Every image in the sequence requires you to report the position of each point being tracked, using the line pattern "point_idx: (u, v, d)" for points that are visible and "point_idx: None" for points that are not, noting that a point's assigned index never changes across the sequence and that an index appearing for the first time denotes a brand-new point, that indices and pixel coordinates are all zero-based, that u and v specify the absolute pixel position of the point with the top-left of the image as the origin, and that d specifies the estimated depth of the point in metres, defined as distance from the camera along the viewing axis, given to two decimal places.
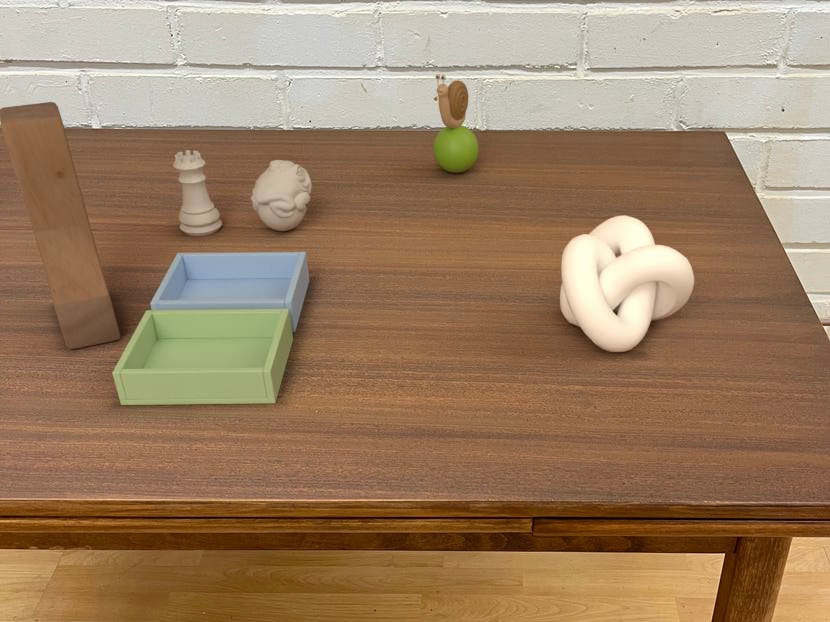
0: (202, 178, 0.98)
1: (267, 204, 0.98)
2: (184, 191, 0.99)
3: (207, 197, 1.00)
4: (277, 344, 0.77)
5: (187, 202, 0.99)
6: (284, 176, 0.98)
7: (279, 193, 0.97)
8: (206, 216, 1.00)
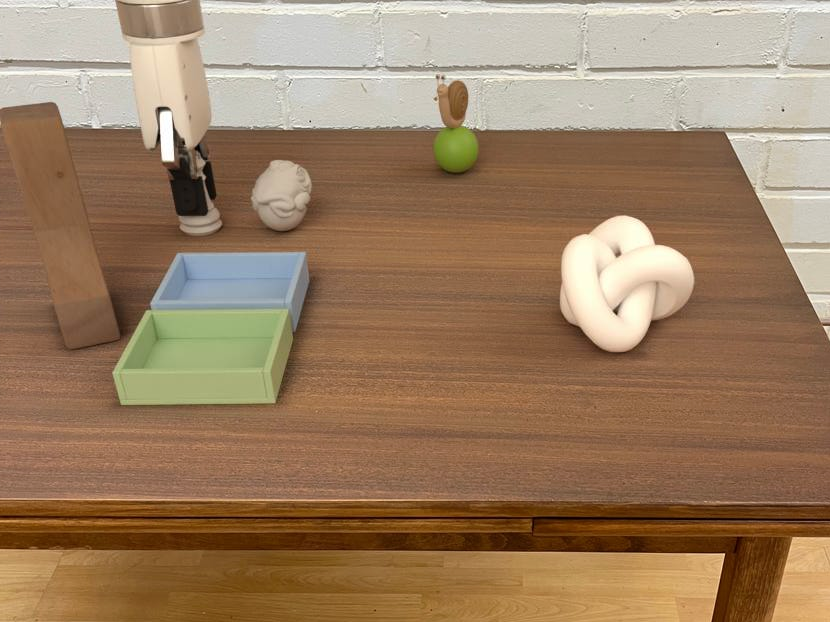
0: (202, 178, 0.98)
1: (267, 204, 0.98)
2: None
3: (207, 197, 1.00)
4: (277, 344, 0.77)
5: None
6: (284, 177, 0.98)
7: (279, 193, 0.97)
8: (206, 216, 1.00)
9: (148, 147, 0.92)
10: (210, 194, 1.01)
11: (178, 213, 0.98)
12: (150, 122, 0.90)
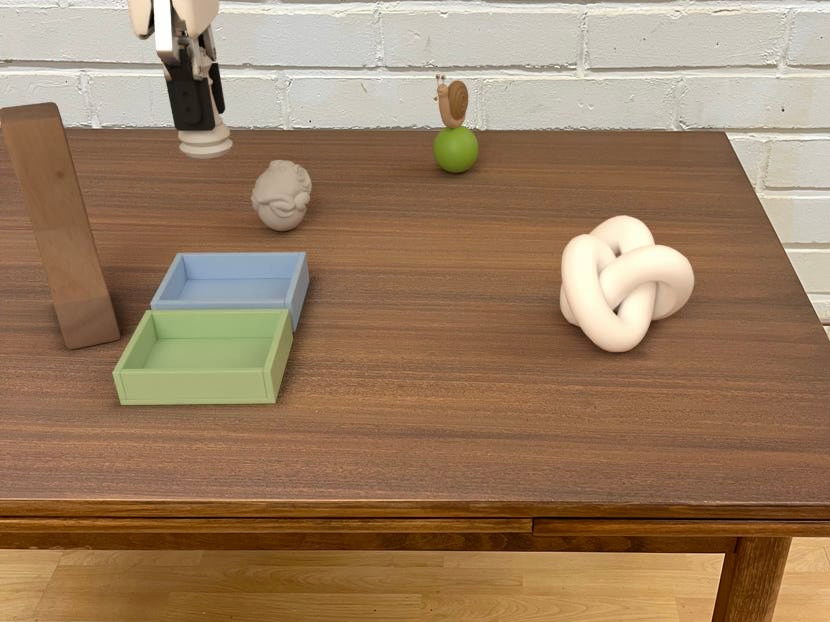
0: (208, 82, 0.77)
1: (267, 204, 0.98)
2: None
3: (215, 108, 0.79)
4: (277, 344, 0.77)
5: None
6: (284, 176, 0.98)
7: (279, 193, 0.97)
8: (212, 132, 0.79)
9: (138, 33, 0.71)
10: (217, 106, 0.80)
11: (177, 127, 0.77)
12: None
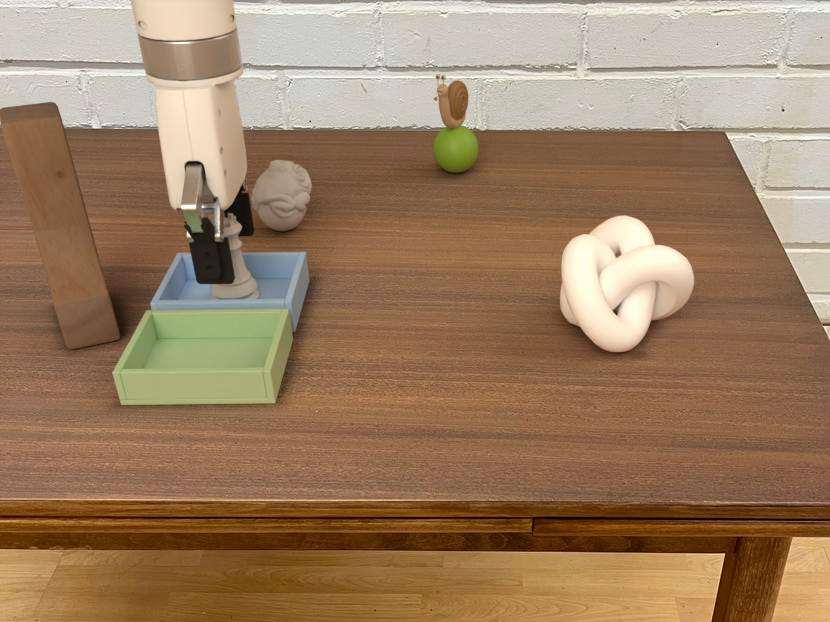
0: (238, 245, 0.84)
1: (267, 204, 0.98)
2: None
3: (243, 266, 0.86)
4: (277, 344, 0.77)
5: None
6: (284, 176, 0.98)
7: (279, 193, 0.97)
8: (241, 288, 0.86)
9: (175, 207, 0.77)
10: (247, 230, 0.88)
11: (198, 281, 0.81)
12: (178, 179, 0.76)
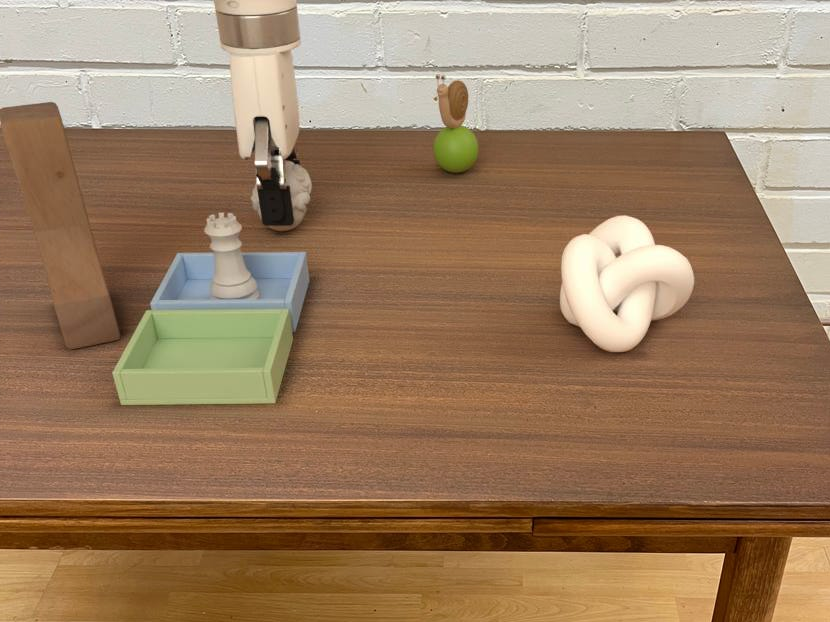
0: (238, 245, 0.84)
1: None
2: (217, 260, 0.85)
3: (243, 266, 0.86)
4: (277, 344, 0.77)
5: (220, 272, 0.85)
6: None
7: None
8: (241, 288, 0.86)
9: (243, 156, 0.93)
10: None
11: (264, 223, 0.98)
12: (247, 131, 0.91)
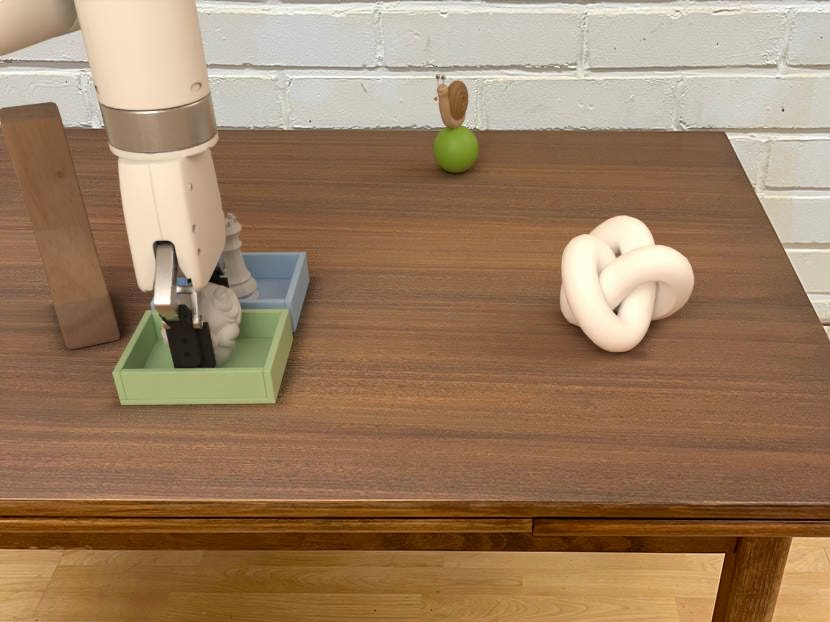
0: (238, 245, 0.84)
1: None
2: None
3: (243, 266, 0.86)
4: (277, 344, 0.77)
5: None
6: (203, 306, 0.74)
7: None
8: (241, 288, 0.86)
9: (143, 289, 0.69)
10: None
11: (176, 367, 0.74)
12: (146, 259, 0.68)
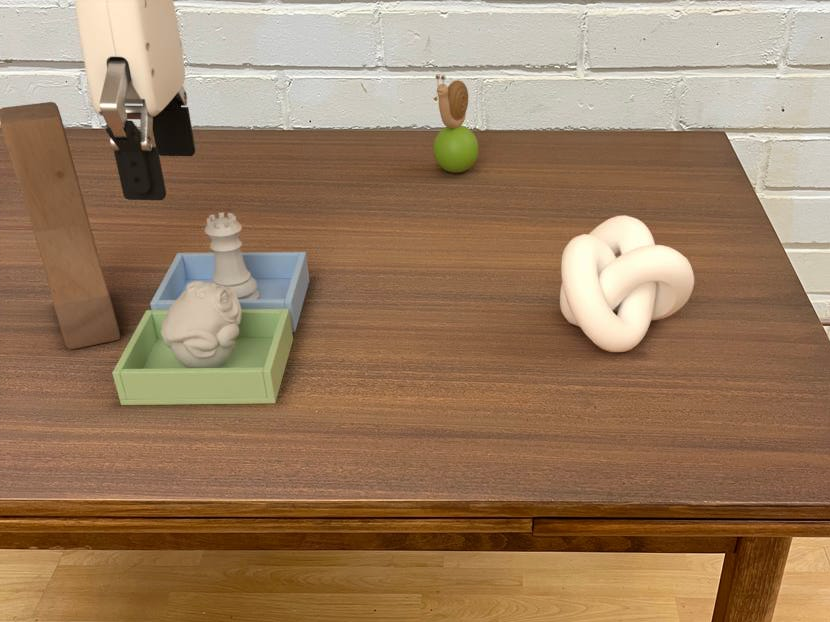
0: (238, 245, 0.84)
1: (180, 342, 0.75)
2: (217, 260, 0.85)
3: (243, 266, 0.86)
4: (277, 344, 0.77)
5: (220, 272, 0.85)
6: (203, 306, 0.74)
7: (196, 329, 0.74)
8: (241, 288, 0.86)
9: (98, 110, 0.71)
10: (187, 149, 0.82)
11: (126, 196, 0.74)
12: (100, 77, 0.69)
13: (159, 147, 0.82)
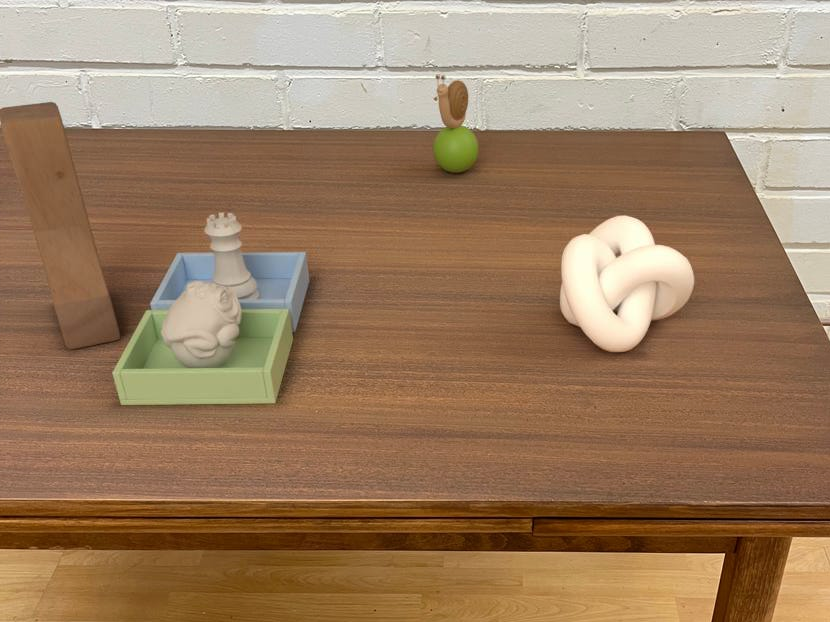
0: (238, 245, 0.84)
1: (180, 342, 0.75)
2: (217, 260, 0.85)
3: (243, 266, 0.86)
4: (277, 344, 0.77)
5: (220, 272, 0.85)
6: (203, 306, 0.74)
7: (196, 329, 0.74)
8: (241, 288, 0.86)
9: None
10: None
11: None
12: None
13: None
